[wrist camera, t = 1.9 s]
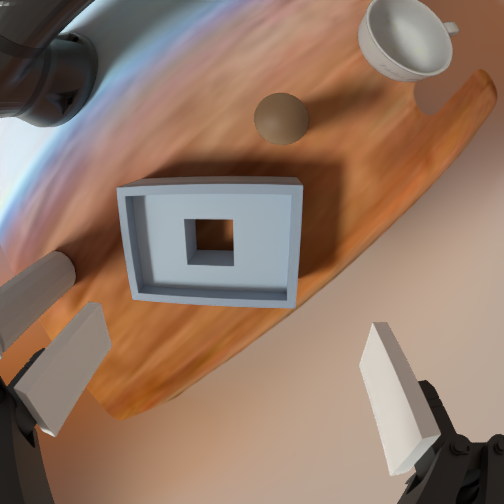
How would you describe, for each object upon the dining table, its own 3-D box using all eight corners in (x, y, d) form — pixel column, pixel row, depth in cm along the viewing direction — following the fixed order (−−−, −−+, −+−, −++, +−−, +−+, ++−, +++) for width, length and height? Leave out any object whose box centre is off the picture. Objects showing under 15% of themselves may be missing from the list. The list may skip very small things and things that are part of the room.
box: (141, 178, 36) (116, 187, 29) (296, 177, 35) (303, 185, 28) (151, 275, 41) (132, 299, 34) (291, 280, 40) (295, 308, 33)
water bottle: (69, 243, 40) (-43, 326, 17) (84, 287, 43) (-9, 385, 19) (36, 251, 41) (-63, 323, 18) (51, 291, 44) (-35, 373, 21)
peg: (260, 111, 32) (254, 92, 19) (294, 112, 32) (309, 94, 19) (260, 143, 33) (254, 144, 20) (293, 144, 33) (308, 146, 20)
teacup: (363, 89, 30) (387, 78, 22) (338, 16, 26) (353, -10, 19) (449, 84, 28) (482, 77, 20) (425, 16, 24) (452, -1, 17)
